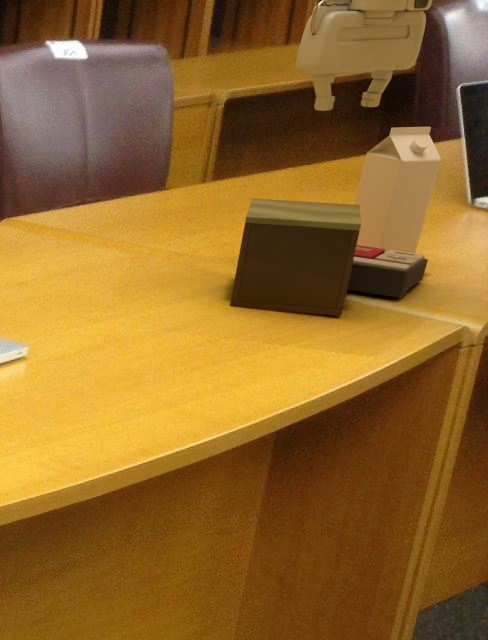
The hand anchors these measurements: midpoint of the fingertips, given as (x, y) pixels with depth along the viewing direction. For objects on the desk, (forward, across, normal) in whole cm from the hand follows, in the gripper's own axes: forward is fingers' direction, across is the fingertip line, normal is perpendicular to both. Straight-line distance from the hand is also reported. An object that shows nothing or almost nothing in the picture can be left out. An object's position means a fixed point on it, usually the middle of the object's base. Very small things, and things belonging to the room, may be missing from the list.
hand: (346, 108), depth 203 cm
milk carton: (+24, +26, +8) cm, 36 cm away
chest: (+24, -10, -4) cm, 26 cm away
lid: (+13, -9, -3) cm, 16 cm away
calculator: (+24, +9, -3) cm, 26 cm away
